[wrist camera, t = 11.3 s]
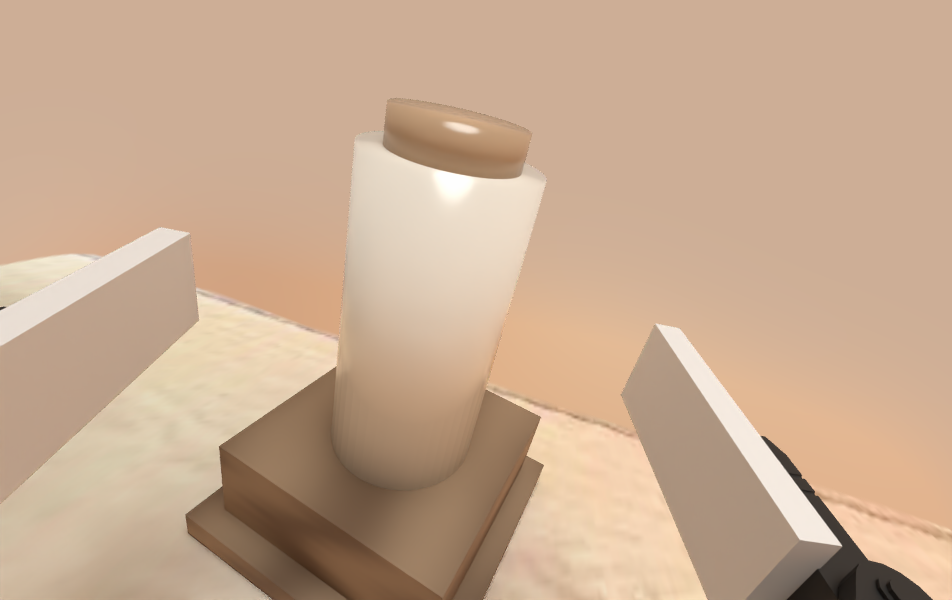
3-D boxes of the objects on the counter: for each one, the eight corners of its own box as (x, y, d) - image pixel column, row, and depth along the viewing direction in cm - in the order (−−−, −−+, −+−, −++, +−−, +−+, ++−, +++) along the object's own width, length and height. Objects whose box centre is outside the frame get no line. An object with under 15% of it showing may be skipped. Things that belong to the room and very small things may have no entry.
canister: (299, 442, 18) (310, 88, 12) (385, 369, 23) (426, 95, 17) (426, 518, 16) (520, 151, 10) (489, 421, 21) (577, 138, 15)
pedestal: (188, 532, 19) (175, 450, 16) (368, 387, 29) (376, 323, 26) (427, 720, 15) (455, 649, 13) (538, 479, 25) (564, 414, 23)
